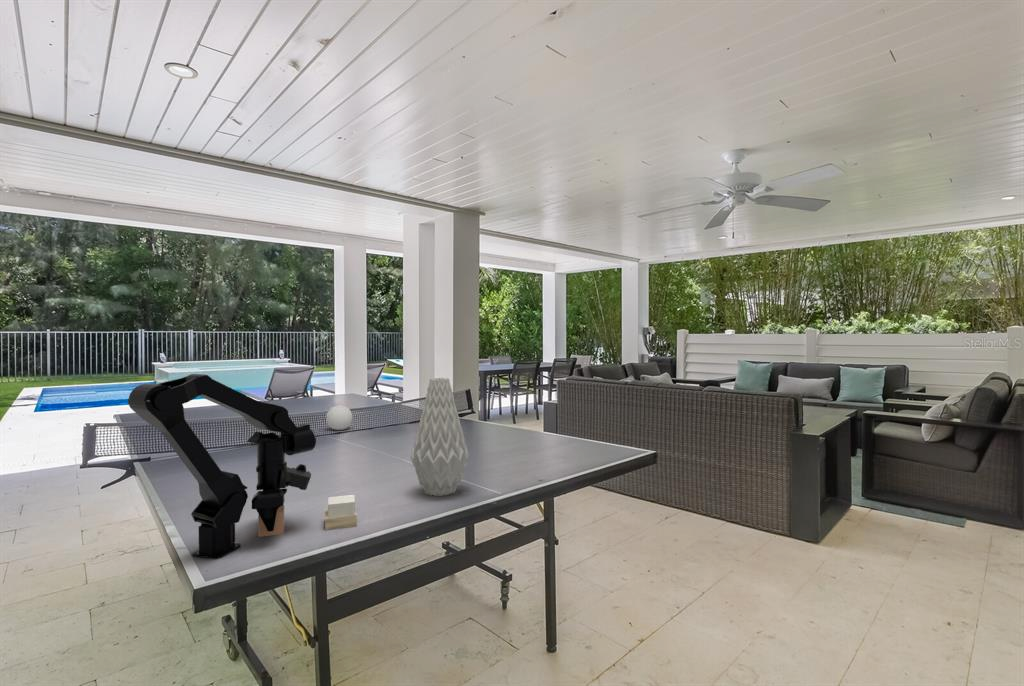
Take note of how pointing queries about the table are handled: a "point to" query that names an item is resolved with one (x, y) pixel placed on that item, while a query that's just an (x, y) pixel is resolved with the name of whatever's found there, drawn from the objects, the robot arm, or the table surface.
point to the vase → (439, 441)
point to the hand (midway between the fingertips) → (271, 527)
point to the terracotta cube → (277, 527)
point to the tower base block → (340, 521)
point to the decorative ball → (339, 417)
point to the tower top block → (341, 506)
